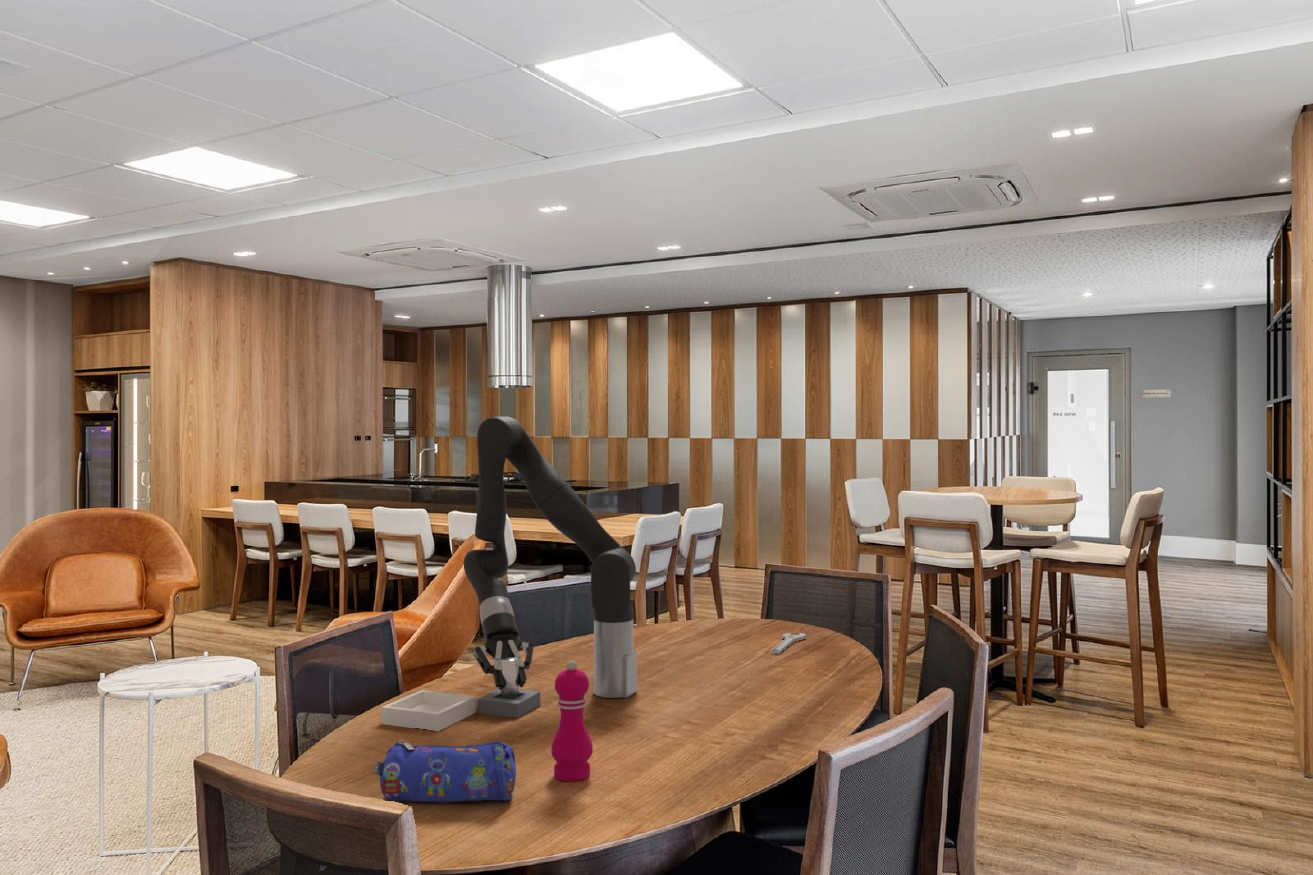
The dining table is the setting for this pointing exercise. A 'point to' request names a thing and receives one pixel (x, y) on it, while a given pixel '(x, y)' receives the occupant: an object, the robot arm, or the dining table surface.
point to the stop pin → (510, 677)
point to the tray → (429, 710)
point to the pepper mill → (571, 726)
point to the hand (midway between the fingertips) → (512, 686)
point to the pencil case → (448, 773)
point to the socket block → (508, 704)
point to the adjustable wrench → (786, 642)
